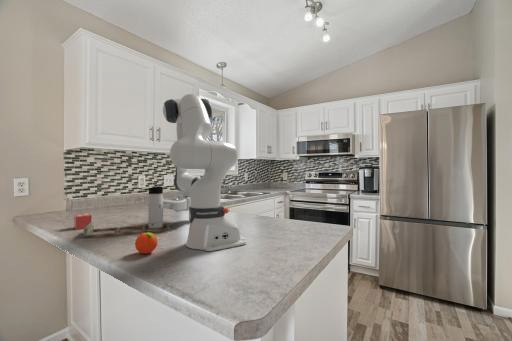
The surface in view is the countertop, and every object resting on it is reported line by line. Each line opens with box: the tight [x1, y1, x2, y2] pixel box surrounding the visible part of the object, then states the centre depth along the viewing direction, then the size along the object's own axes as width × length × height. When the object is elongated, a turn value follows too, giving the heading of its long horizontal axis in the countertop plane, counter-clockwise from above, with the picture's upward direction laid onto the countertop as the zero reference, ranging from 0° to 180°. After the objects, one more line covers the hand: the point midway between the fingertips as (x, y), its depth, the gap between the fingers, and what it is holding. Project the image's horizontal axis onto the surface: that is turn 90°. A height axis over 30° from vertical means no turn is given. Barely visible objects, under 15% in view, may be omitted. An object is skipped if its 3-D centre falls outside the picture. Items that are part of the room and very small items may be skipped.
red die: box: [73, 213, 92, 231], centre depth 118 cm, size 6×6×6 cm
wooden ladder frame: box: [83, 222, 171, 239], centre depth 112 cm, size 33×12×4 cm, turn 113°
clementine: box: [134, 232, 158, 255], centre depth 83 cm, size 8×7×7 cm
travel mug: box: [148, 186, 164, 230], centre depth 116 cm, size 6×7×20 cm
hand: (154, 205), depth 115 cm, fingers open, 8 cm apart
